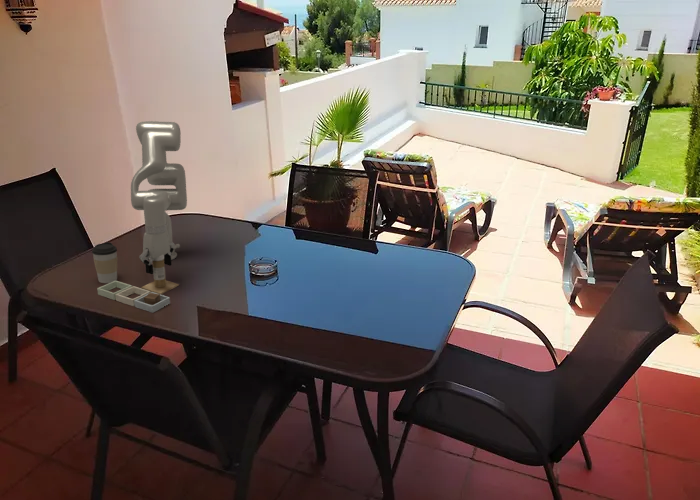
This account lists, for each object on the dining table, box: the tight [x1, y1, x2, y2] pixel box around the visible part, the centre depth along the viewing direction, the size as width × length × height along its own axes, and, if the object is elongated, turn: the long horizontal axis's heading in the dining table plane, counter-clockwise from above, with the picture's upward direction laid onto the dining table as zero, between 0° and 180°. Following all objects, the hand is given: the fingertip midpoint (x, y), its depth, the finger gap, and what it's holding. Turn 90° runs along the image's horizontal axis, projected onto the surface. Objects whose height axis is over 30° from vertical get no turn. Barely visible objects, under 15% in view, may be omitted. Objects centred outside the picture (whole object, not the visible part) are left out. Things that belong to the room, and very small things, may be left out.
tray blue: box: [134, 292, 171, 314], centre depth 191 cm, size 9×9×3 cm
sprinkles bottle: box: [152, 255, 167, 287], centre depth 204 cm, size 5×5×13 cm
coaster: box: [140, 280, 180, 295], centre depth 206 cm, size 10×10×1 cm
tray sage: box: [96, 280, 133, 301], centre depth 198 cm, size 9×9×3 cm
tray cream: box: [115, 285, 151, 307], centre depth 195 cm, size 9×9×3 cm
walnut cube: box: [144, 293, 160, 305], centre depth 191 cm, size 4×4×4 cm
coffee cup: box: [91, 241, 118, 284], centre depth 207 cm, size 9×9×15 cm
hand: (158, 268), depth 204 cm, fingers open, 9 cm apart
